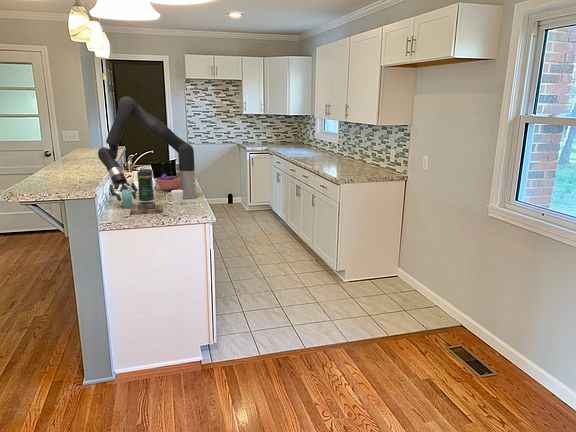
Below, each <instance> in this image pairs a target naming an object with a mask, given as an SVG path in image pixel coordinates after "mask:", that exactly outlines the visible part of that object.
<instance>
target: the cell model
mask: <svg viewBox="0 0 576 432" xmlns="http://www.w3.org/2000/svg"><path fill="white" fill-rule="evenodd" d="M154 180H155V182H156V184H157V186H158V187H159V189H161V190H164V191H166V192H167V191H172V190H180V176H179V175H178V176H176V175H171V176H168V175H167V174H166V173H163V174H162V175H161V176H159V177H156V178H155V179H154Z"/></svg>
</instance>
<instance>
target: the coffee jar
mask: <svg viewBox="0 0 576 432" xmlns="http://www.w3.org/2000/svg"><path fill="white" fill-rule="evenodd" d="M137 181H138V183H137V185H138V199H139V200H140V201H142V202H147V201H152V200H153V199H154V198H155V197H154V185H153V171H152V170H151V169H150V168H144V169H141V170H138V171H137Z"/></svg>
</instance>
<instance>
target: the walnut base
mask: <svg viewBox="0 0 576 432" xmlns="http://www.w3.org/2000/svg"><path fill="white" fill-rule="evenodd" d="M148 213H155V214H162V213H163V204H156V201H155V200H154V201H152V200H148V201H138V203H137V205H132V208H130V216H131V215H133V216H134V215H135V214H136V215H149V214H148Z"/></svg>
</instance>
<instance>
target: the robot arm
mask: <svg viewBox="0 0 576 432" xmlns="http://www.w3.org/2000/svg"><path fill="white" fill-rule="evenodd" d="M130 116H131V117H132V118H134V119H135V120H137V121H138V122H139V123H140V125H141V126H143V128H144V129H146V131H147V132H149V133H150V134H152V136H154V137H155V138H156V139H158V140H160V141H161V142H162V143H165V144H167V145H169V146H170V147H171V148H172V149H173V150H174V151H175V152H176V153H177V155H178V157H177V158H178V169H179V177H180V189H179V190H183V199H187V200H191V199H196V198H197V187H196V170H195V168H196V167H195V153H194V151H195V150H194V148H193V146H192V145H191V144H189V143H188V142H186V141H184V140H183V139H182V138H181V137H179V136H178V135H176V133H175V132H174V131H172V130H171V129H170V128H169V127H168V126H167V125H166V124H165V123H164V122H162V121H161V120H160V119H159V118H157V117H155V116H154V115H153V114H151V113H149V112H148V111H146V110H145V109H143V107H141V105H140V104H138V102H136V101H135V99H134V98H132V97H131V96H129V95H126V96H122V97H121V98H120V99H119V101H118V106H117V111H116V114H115V118H114V121H113V122H112V125H111V128H110V130H109V132H108V134H107V138H106V140H105V141H106V142H105V143H106V144H107V145H109V148H107V147H101V148H100V149H98V150H97V156H98V159H99V160H100V162H101V163H102V164H103V165H104V167H106V170H107V172H108V175H109V178H110V180H111V182H112V184H113V185H112V184H110V185H109V187H108V189H109V192H110V194H111V196H112V197H116V199H117V201H118V202H120V203H121V202H122V196H121V195H120V193H122V190H126V189H129V190H131V196H132V199H133V200H136V199H137V197H138V196H137V194H136V193H137V192H138V188H137V186H136V185H135V183H134V182H133V181H132V182H131V183H129V182H128V179H127V178H126V176H125V174H124V173H125V172H124V171H123V170H122V168H121V166H120V164H119V162H118V161H117V158H118V153H119V144H120V141H121V139H122V136H123V135H124V131H125V127H126V124H127V121H128V118H129V117H130ZM114 189H115V190H116V192H115V190H114ZM183 199H182V200H183Z"/></svg>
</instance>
